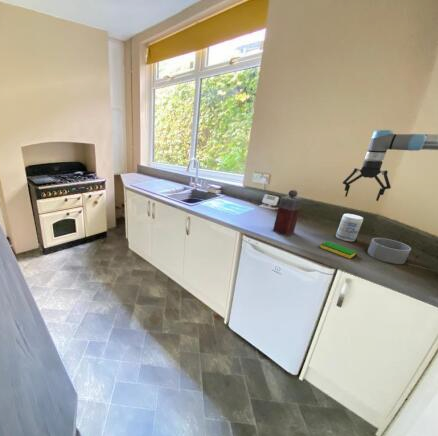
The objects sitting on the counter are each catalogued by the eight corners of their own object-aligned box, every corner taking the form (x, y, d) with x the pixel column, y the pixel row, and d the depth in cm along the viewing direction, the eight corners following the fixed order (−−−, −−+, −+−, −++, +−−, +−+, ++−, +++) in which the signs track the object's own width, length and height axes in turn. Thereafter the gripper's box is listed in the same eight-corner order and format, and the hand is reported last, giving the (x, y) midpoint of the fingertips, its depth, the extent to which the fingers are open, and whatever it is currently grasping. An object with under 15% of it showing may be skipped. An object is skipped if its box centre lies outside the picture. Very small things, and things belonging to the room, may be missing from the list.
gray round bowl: (402, 255, 125) (408, 243, 122) (407, 267, 114) (413, 253, 111) (366, 247, 133) (371, 235, 131) (367, 257, 123) (372, 244, 120)
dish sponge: (325, 244, 135) (327, 240, 135) (355, 255, 125) (356, 251, 124) (319, 247, 132) (321, 243, 131) (349, 258, 121) (351, 254, 120)
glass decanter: (295, 232, 152) (307, 190, 141) (286, 236, 146) (297, 192, 135) (281, 227, 158) (291, 187, 148) (272, 231, 153) (282, 189, 142)
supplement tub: (343, 242, 139) (352, 219, 134) (331, 235, 148) (338, 213, 143) (359, 242, 140) (368, 219, 134) (346, 235, 149) (354, 213, 143)
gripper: (344, 159, 132) (333, 195, 139) (407, 162, 117) (392, 203, 124) (344, 158, 137) (334, 193, 144) (405, 161, 122) (390, 200, 130)
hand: (360, 198), depth 134 cm, fingers open, 13 cm apart
